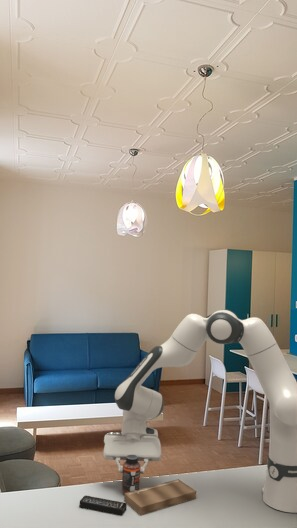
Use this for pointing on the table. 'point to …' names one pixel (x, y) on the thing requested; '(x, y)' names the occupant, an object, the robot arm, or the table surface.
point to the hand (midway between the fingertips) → (131, 472)
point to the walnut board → (159, 496)
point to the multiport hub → (103, 505)
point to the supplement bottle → (131, 474)
